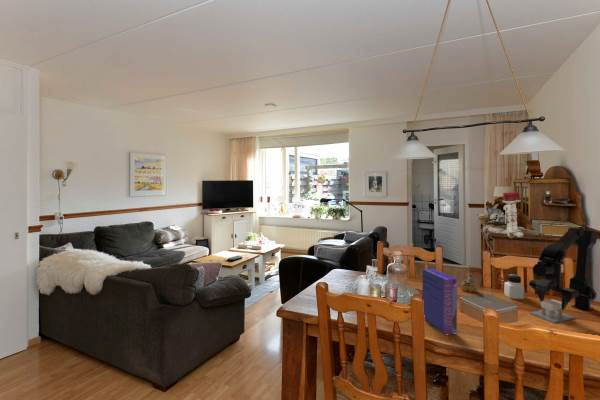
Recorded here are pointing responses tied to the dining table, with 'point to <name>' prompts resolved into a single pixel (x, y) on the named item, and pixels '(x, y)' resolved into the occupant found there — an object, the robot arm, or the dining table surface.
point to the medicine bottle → (514, 287)
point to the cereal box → (440, 300)
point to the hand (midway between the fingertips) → (552, 305)
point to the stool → (551, 307)
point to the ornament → (469, 285)
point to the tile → (555, 318)
